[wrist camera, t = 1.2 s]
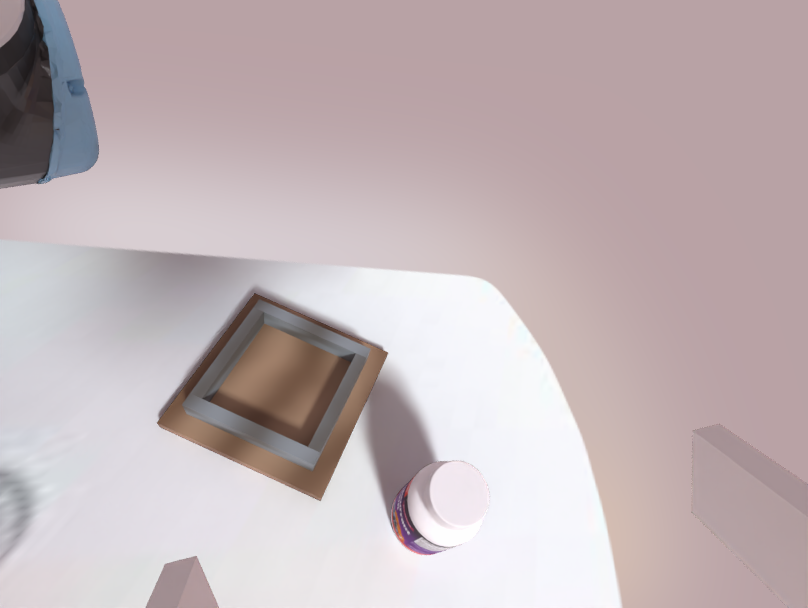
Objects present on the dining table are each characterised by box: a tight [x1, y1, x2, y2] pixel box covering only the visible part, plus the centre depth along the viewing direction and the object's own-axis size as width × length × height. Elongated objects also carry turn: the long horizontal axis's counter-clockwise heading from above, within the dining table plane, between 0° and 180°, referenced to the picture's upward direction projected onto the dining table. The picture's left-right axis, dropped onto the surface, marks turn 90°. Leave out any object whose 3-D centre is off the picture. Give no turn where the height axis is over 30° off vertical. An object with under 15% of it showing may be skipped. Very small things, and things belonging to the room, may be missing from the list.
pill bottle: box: [391, 461, 490, 555], centre depth 32 cm, size 5×5×10 cm
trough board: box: [157, 293, 388, 501], centre depth 38 cm, size 14×14×3 cm
